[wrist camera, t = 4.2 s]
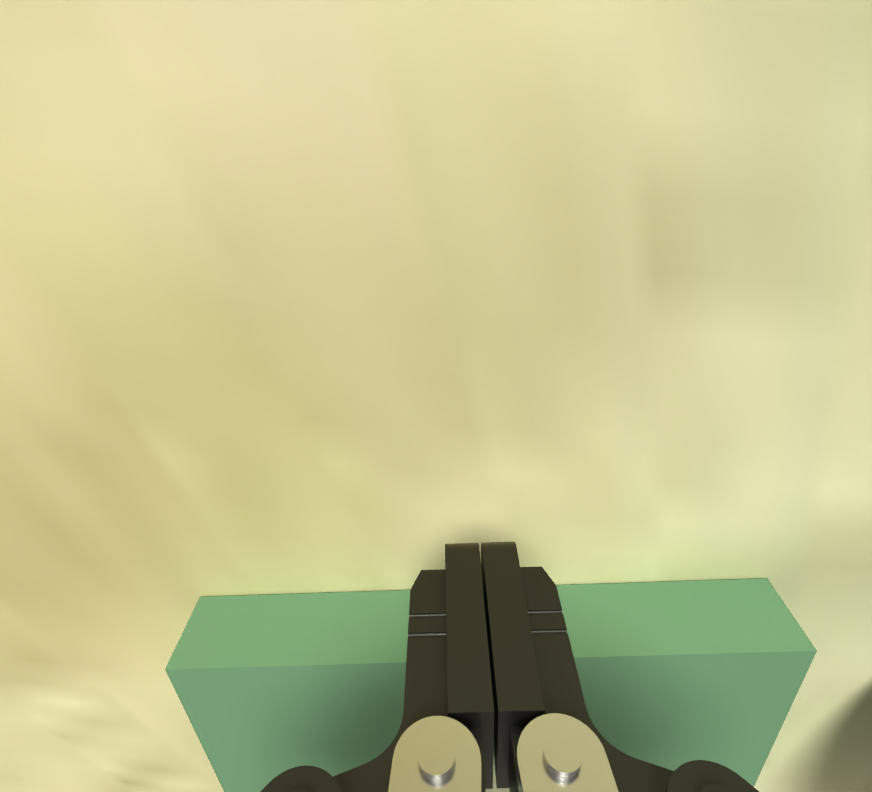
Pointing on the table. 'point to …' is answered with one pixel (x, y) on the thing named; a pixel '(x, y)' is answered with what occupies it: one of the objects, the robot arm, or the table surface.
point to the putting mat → (386, 668)
